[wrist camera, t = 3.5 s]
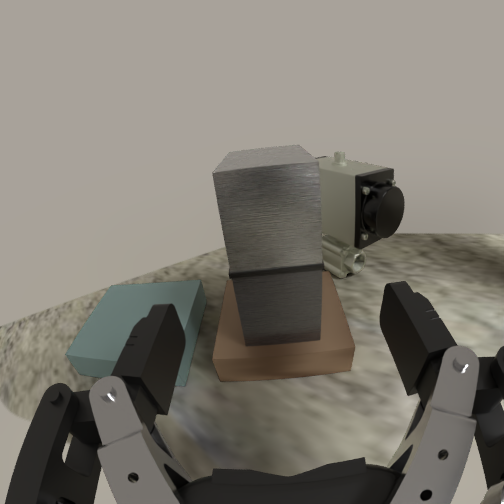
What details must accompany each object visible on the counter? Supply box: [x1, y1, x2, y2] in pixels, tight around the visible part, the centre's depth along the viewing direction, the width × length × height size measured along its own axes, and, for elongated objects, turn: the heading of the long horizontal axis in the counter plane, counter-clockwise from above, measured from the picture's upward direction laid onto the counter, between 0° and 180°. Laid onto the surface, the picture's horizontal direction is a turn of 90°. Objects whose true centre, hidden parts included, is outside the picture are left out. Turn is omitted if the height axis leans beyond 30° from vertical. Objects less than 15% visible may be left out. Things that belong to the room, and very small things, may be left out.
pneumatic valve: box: [315, 152, 404, 278], centre depth 26 cm, size 6×12×12 cm, turn 29°
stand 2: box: [212, 271, 355, 381], centre depth 21 cm, size 9×9×2 cm
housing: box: [213, 145, 325, 347], centre depth 18 cm, size 5×7×11 cm
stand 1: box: [65, 280, 207, 386], centre depth 22 cm, size 10×10×2 cm
